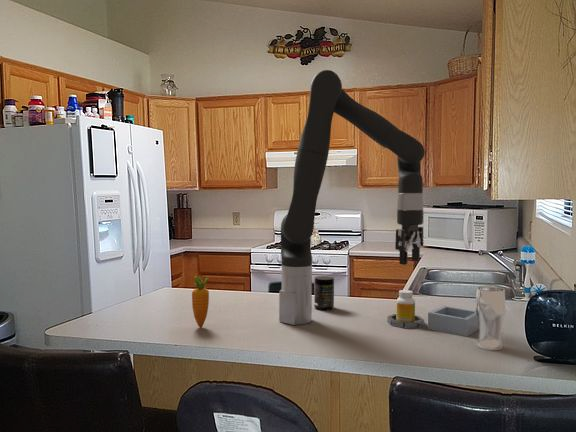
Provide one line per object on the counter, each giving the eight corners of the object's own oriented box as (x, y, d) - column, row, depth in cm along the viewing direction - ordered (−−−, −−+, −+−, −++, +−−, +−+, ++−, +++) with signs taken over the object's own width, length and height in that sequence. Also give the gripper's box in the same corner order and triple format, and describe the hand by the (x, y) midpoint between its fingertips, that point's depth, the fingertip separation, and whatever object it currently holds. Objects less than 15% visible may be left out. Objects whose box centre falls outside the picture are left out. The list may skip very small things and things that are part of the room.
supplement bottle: (415, 326, 138) (415, 293, 137) (396, 325, 139) (397, 292, 138) (414, 321, 143) (414, 289, 142) (396, 320, 144) (396, 289, 144)
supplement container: (338, 309, 157) (338, 278, 157) (321, 311, 154) (321, 280, 153) (326, 305, 163) (326, 275, 163) (310, 307, 160) (310, 277, 159)
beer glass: (502, 353, 115) (503, 292, 114) (472, 347, 119) (473, 289, 118) (505, 345, 121) (507, 287, 120) (477, 340, 125) (478, 284, 124)
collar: (413, 330, 134) (413, 324, 134) (382, 323, 140) (382, 318, 140) (428, 322, 141) (428, 317, 141) (398, 316, 148) (398, 312, 148)
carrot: (212, 326, 137) (212, 275, 136) (204, 330, 132) (203, 278, 132) (197, 324, 139) (197, 274, 138) (188, 329, 134) (188, 277, 133)
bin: (466, 336, 128) (467, 319, 128) (427, 328, 136) (428, 312, 135) (481, 327, 137) (481, 312, 136) (443, 320, 144) (444, 305, 144)
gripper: (408, 207, 147) (408, 258, 148) (387, 208, 136) (387, 264, 137) (431, 208, 142) (431, 261, 143) (411, 209, 131) (411, 266, 132)
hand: (409, 262), depth 140 cm, fingers open, 8 cm apart
